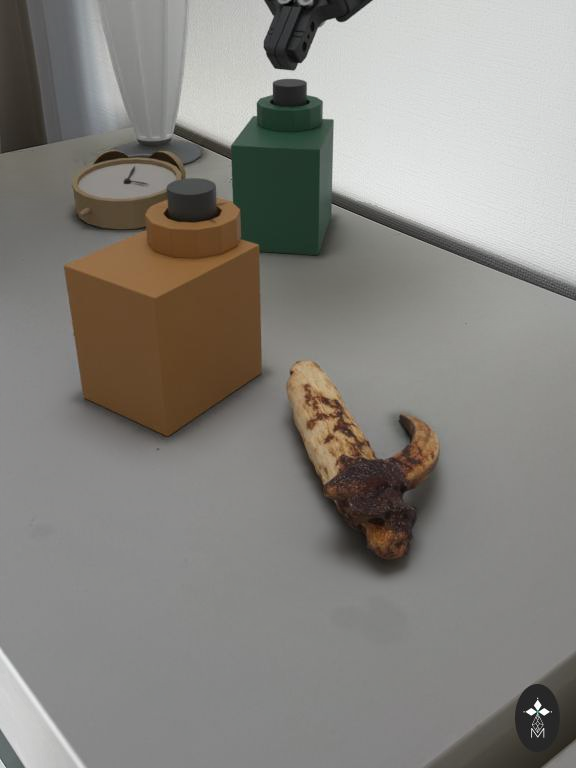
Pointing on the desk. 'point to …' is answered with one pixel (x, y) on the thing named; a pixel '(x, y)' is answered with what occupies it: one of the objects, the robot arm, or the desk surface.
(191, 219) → the dark grey cylinder
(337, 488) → the lashed bone hook
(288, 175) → the green bottle
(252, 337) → the amber bottle
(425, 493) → the desk surface
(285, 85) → the short charcoal cylinder
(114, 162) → the alarm clock
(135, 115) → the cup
